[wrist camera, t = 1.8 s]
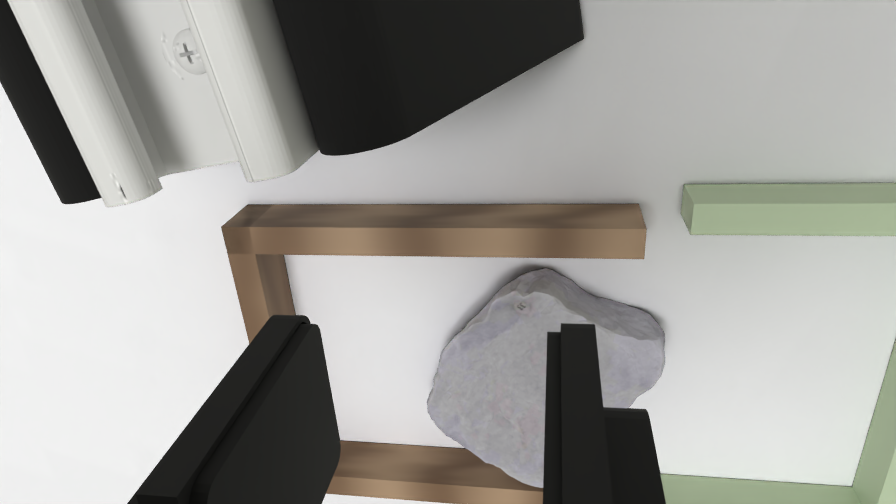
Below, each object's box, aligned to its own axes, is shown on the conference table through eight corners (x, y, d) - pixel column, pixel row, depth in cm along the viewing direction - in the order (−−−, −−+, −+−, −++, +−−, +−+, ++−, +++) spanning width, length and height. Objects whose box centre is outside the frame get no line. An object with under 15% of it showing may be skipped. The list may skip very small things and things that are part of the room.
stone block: (429, 378, 40) (566, 466, 39) (400, 420, 35) (553, 520, 34) (518, 226, 35) (678, 322, 33) (497, 254, 30) (680, 365, 29)
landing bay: (980, 182, 28) (1017, 203, 25) (874, 507, 36) (895, 544, 34) (683, 184, 30) (694, 203, 27) (651, 491, 38) (656, 525, 36)
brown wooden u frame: (638, 203, 30) (646, 228, 28) (618, 477, 38) (623, 517, 36) (247, 204, 34) (221, 227, 31) (302, 455, 42) (284, 490, 39)
